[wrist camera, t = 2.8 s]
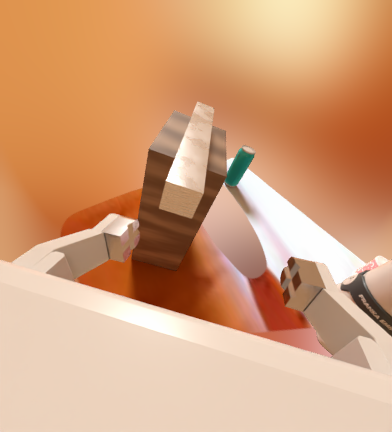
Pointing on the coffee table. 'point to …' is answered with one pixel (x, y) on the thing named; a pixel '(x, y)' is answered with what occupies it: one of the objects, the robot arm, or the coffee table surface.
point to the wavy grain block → (153, 189)
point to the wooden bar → (189, 165)
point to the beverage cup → (372, 264)
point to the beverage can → (239, 166)
